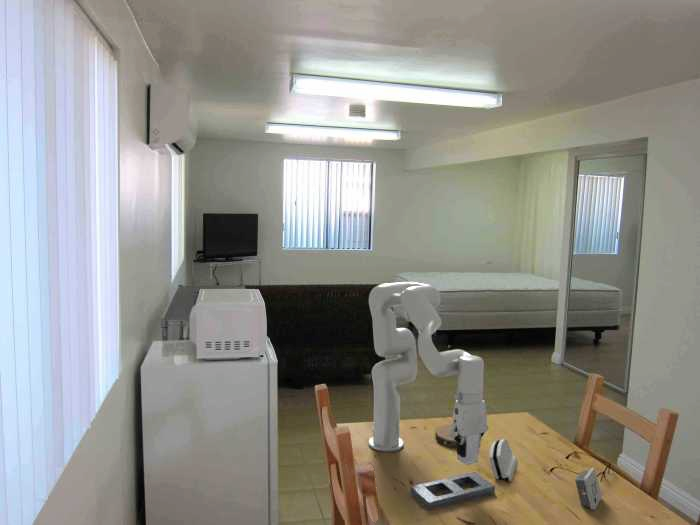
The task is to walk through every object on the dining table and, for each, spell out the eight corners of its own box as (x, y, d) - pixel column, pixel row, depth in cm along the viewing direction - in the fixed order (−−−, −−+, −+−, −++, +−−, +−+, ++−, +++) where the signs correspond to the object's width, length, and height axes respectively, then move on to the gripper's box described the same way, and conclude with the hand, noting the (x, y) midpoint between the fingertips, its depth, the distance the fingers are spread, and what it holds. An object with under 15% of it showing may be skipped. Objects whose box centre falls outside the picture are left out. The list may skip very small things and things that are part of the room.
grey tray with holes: (410, 494, 172) (410, 486, 171) (474, 479, 182) (474, 471, 182) (428, 510, 163) (428, 502, 162) (494, 493, 173) (494, 486, 173)
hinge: (510, 482, 180) (501, 452, 181) (496, 483, 182) (487, 454, 183) (517, 460, 196) (508, 432, 196) (504, 462, 197) (495, 435, 198)
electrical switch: (593, 511, 164) (592, 480, 163) (575, 507, 167) (574, 476, 167) (602, 498, 171) (600, 468, 171) (584, 494, 174) (583, 465, 174)
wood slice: (446, 428, 224) (446, 420, 223) (484, 438, 214) (484, 430, 214) (427, 441, 211) (427, 433, 210) (467, 453, 202) (467, 445, 201)
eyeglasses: (595, 490, 177) (596, 478, 176) (546, 473, 187) (547, 462, 187) (613, 472, 189) (613, 461, 188) (566, 457, 199) (566, 446, 199)
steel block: (457, 459, 174) (458, 427, 173) (469, 456, 176) (470, 425, 175) (466, 465, 170) (467, 433, 169) (478, 462, 172) (479, 431, 171)
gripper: (454, 404, 164) (452, 464, 166) (500, 396, 171) (497, 454, 173) (439, 396, 171) (437, 453, 173) (484, 389, 178) (482, 444, 180)
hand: (467, 453), depth 173 cm, fingers closed on steel block, 4 cm apart
